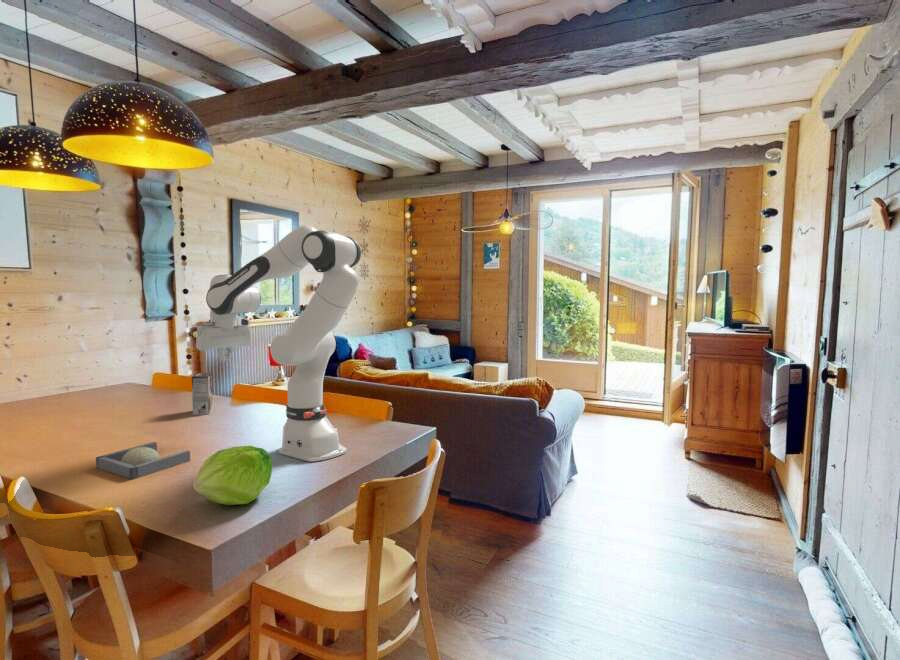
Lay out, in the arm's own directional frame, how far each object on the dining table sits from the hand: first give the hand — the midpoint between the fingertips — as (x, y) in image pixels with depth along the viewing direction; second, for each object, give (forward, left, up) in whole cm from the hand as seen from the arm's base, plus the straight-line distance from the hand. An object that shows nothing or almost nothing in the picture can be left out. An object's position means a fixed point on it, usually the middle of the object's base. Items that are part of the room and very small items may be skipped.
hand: (225, 360), depth 166 cm
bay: (-11, +29, -27) cm, 41 cm away
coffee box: (+40, -6, -27) cm, 48 cm away
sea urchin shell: (-11, +30, -27) cm, 42 cm away
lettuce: (-55, +22, -27) cm, 65 cm away
